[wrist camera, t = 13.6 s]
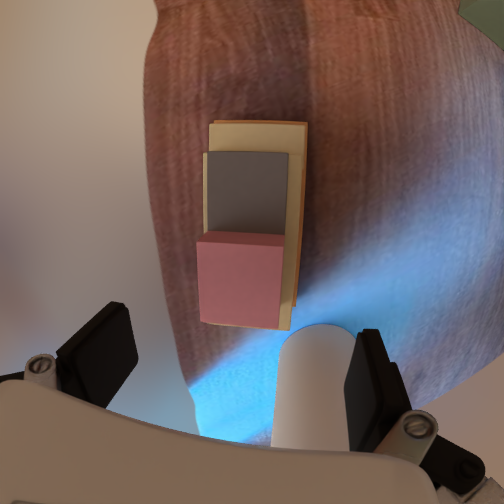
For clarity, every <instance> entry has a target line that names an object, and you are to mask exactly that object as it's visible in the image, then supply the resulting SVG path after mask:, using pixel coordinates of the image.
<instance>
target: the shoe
mask: <svg viewBox="0 0 504 504" xmlns="http://www.w3.org/2000/svg"><path fill="white" fill-rule="evenodd" d="M307 131H308V122H296V121H274V120H215V121H214V124H210V125H209V151H256V152H283V153H288V154H289V159H288V184H287V205H286V225H285V242H284V258H283V273H282V288H281V301H280V314H279V326H278V329H270V328H258V327H246V326H236V327H246V328H258V329H270V330H284V331H289V330H290V323H291V314H292V307H296V299H297V289H298V278H299V267H300V255H301V242H302V229H303V214H304V198H305V180H306V159H307ZM203 211H204V234H205V233H206V232H207V152H205V153H204V154H203ZM208 324H216V323H208ZM216 325H225V324H216ZM226 326H235V325H226Z"/></svg>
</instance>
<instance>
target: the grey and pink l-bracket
mask: <svg viewBox="0 0 504 504" xmlns="http://www.w3.org/2000/svg"><path fill="white" fill-rule="evenodd" d="M288 159H289V154H288V153H283V152H256V151H208V152H207V232H206V233H205V234H204V235H203V236H202V237H201V238H200V239H199V240H198V241H197V266H198V286H199V303H200V318H201V322H207V323H216V324H225V325H235V326H246V327H258V328H270V329H278V326H279V314H280V301H281V288H282V273H283V258H284V242H285V225H286V205H287V184H288Z"/></svg>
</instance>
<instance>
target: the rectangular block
mask: <svg viewBox="0 0 504 504" xmlns="http://www.w3.org/2000/svg"><path fill="white" fill-rule="evenodd" d="M458 14H459V15H460V16H462V17H463V18H464V19H466V20H467V21H468V22H470V23H471V24H472V25H474V26H475V27H476V28H478V29H479V30H480V31H481V32H483V33H484V34H485V35H486V36H487V37H489V38H490V39H491V40H492V41H493V42H494V43H496V44H497V45H498V46H499V47H500V48H501V49H502V50H503V51H504V0H461V1H460V7H459V12H458Z"/></svg>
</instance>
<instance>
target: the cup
mask: <svg viewBox="0 0 504 504" xmlns="http://www.w3.org/2000/svg"><path fill="white" fill-rule="evenodd" d="M355 342H356V339H355V338H354V337H353V335H352V334H351V333H349V332H348V331H347V330H345V329H343V328H341V327H338V326H335V325H329V324H317V325H312V326H308V327H305V328H302V329H300V330H298V331H296V332H295V333H293V334H292V335H291V336H290V337H288V338H287V340H286V341H285V342H284V343H283V345H282V347H281V349H280V353H279V362H278V374H277V386H276V397H275V408H274V418H273V428H272V438H271V447H279V448H291V449H305V450H326V451H349V439H348V428H347V418H346V408H345V399H344V382H345V379H346V375H347V372H348V368H349V365H350V361H351V357H352V354H353V350H354V346H355Z"/></svg>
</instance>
